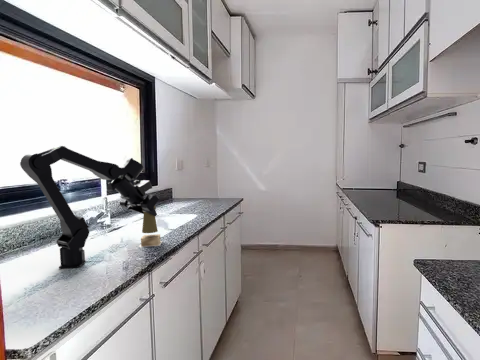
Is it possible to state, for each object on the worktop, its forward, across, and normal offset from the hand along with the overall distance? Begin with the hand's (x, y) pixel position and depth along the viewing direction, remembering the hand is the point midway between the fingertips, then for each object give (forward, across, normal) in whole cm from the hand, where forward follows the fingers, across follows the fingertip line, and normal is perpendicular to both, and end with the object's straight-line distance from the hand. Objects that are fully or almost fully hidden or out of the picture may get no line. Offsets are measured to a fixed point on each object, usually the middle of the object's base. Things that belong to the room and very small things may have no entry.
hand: (152, 214), depth 146 cm
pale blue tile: (+7, +2, +11) cm, 13 cm away
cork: (+4, 0, +6) cm, 7 cm away
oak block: (+7, 0, +9) cm, 12 cm away
